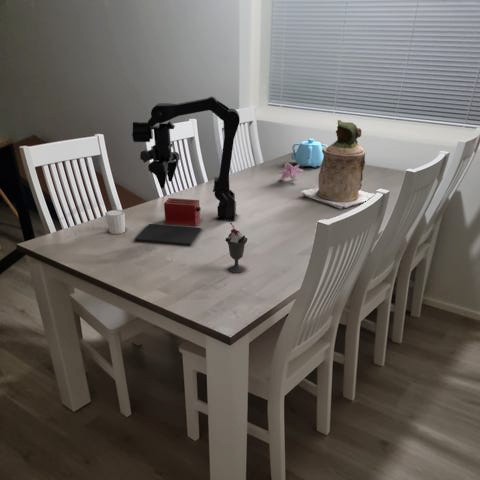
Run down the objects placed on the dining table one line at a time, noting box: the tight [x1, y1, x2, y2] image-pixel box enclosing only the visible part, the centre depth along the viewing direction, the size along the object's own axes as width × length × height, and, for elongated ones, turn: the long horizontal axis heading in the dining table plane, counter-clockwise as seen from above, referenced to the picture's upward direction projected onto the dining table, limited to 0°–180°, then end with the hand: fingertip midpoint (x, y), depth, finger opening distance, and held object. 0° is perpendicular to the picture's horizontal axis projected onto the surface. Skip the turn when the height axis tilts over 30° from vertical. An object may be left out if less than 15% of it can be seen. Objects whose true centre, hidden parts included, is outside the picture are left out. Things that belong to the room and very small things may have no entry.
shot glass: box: [105, 209, 126, 235], centre depth 174 cm, size 7×7×7 cm
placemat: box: [134, 223, 202, 247], centre depth 172 cm, size 20×15×1 cm
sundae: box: [225, 222, 248, 274], centre depth 145 cm, size 7×7×15 cm
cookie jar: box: [300, 119, 375, 210], centre depth 203 cm, size 25×25×32 cm
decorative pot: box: [290, 138, 328, 168], centre depth 255 cm, size 16×16×14 cm
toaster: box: [163, 197, 202, 227], centre depth 182 cm, size 13×6×8 cm, turn 80°
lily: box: [277, 162, 305, 185], centre depth 229 cm, size 12×12×10 cm
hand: (166, 184), depth 181 cm, fingers open, 9 cm apart
